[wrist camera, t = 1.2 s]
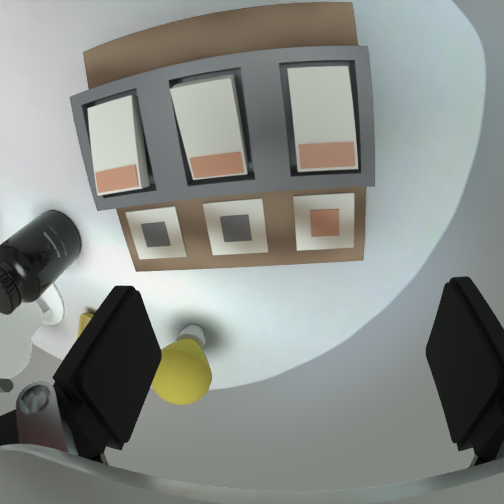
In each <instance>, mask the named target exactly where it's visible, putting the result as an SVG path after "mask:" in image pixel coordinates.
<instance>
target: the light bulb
mask: <svg viewBox="0 0 504 504" xmlns="http://www.w3.org/2000/svg"><path fill="white" fill-rule="evenodd" d="M205 342H206V340H205V337H204V331H203V329H202V328H201V327H199V326H198V325H194V324H191V325H188V326H186V327H185V329H183V330H181V332H180V333H179V335H178V338H177V342H174V343H172V344H170V345H168V346H167V347H165V348H164V349H162V350H161V353H162V358H161V362H160V364H159V367H158V369H157V372H156V374H155V377H154V379H153V382H152V384H151V385H152V387H153V389H154V391H155V392H156V393H157V394H158V395H159V396H160V397H161V398H162V399H164V400H166V401H167V402H169V403H173V404H178V405H186V404H190V403H194V402H196V401H197V400H199V399H200V398H201V397H203V396H204V395H205V394H206V392H207V391H208V389H209V386H210V384H211V381H212V373H211V369H210V366H209V363H208V361H207V358H206V356H205V354H204V352H203V351H202V350H203V349H204V345H205Z"/></svg>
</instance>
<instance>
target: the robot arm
mask: <svg viewBox="0 0 504 504" xmlns="http://www.w3.org/2000/svg"><path fill="white" fill-rule="evenodd" d="M426 357H427V360H428V363H429V366H430V369H431V372H432V375H433V378H434V381H435V384H436V387H437V391H438V394H439V397H440V400H441V404H442V407H443V410H444V414H445V417H446V421H447V424H448V428H449V431H450V435H451V439H452V441H453V443H457V446H458V450H459V451H462V450H466V449H469V448H473V449H474V452H475V456H474V458H473V460H472V462H471V464H470V466H469V468H466V469H463V470H459V471H455V472H451V473H447V474H442V475H438V476H434V477H429V478H424V479H419V480H414V481H409V482H403V483H397V484H390V485H383V486H375V487H367V488H357V489H344V490H328V491H262V490H245V489H233V488H223V487H214V486H206V485H199V484H192V483H186V482H180V481H174V480H169V479H164V478H159V477H154V476H149V475H145V474H141V473H137V472H132V471H128V470H125V469H121V468H117V467H113V466H110V465H109V464H108V462H107V459H106V456H105V454H104V450H105V447H106V446H107V447H111V448H114V449H118V450H122V447H123V445H124V443H127V442H128V441H129V439H130V437H131V435H132V432H133V429H134V427H135V424H136V421H137V419H138V417H139V414H140V411H141V409H142V406H143V404H144V401H145V399H146V396H147V394H148V391H149V389H150V386H151V384H152V382H153V379H154V377H155V374H156V372H157V369H158V367H159V364H160V362H161V358H162V353H161V349H160V347H159V344H158V341H157V339H156V336H155V333H154V331H153V328H152V325H151V323H150V320H149V317H148V314H147V311H146V309H145V306H144V303H143V300H142V297H141V294H140V292H139V291H137V290H135V288H134V287H133V286H115V287H114V288H113V289H112V291H111V292H110V293H109V295H108V296H107V297H106V299H105V300H104V302H103V303H102V304H101V306H100V307H99V309H98V310H97V311H96V313H95V314H94V316H93V317H92V318H91V320H90V321H89V323H88V324H87V326H86V327H85V329H84V330H83V331H82V333H81V334H80V336H79V337H78V339H77V340H76V342H75V343H74V345H73V346H72V348H71V349H70V351H69V352H68V354H67V355H66V357H65V359H64V360H63V362H62V363H61V365H60V366H59V368H58V369H57V371H56V373H55V374H54V376H53V379H54V380H55V383H54V385H53V386H52V385H51V384H50V383H48V382H46V381H37V382H33V383H31V384H29V385H28V386H26V387H25V388H24V389H23V390H22V391H21V392H20V394H19V395H18V398H17V400H16V409H15V410H13V411H11V412H9V413H6V414H4V415H2V416H0V504H504V329H503V327H502V326H501V324H500V322H499V321H498V319H497V318H496V316H495V314H494V313H493V311H492V310H491V308H490V307H489V305H488V303H487V302H486V300H485V299H484V297H483V296H482V294H481V293H480V291H479V290H478V289H477V287H476V286H475V284H474V283H473V281H472V280H471V279H470V278H469V277H453V278H451V279H450V281H449V283H446V284H445V286H444V289H443V294H442V297H441V301H440V304H439V308H438V311H437V315H436V318H435V321H434V325H433V328H432V331H431V334H430V337H429V340H428V343H427V346H426Z"/></svg>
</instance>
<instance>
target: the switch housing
mask: <svg viewBox="0 0 504 504" xmlns="http://www.w3.org/2000/svg"><path fill="white" fill-rule="evenodd" d="M324 66H348V70H349V77H350V85H351V93H352V102H353V111H354V121H355V131H356V143H357V157H358V169H347V170H325V171H306V172H298V171H297V159H296V148H295V137H294V127H293V117H292V107H291V98H290V89H289V81H288V72H287V68H302V67H324ZM232 74H234V80H235V86H236V91H237V97H238V103H239V109H240V115H241V121H242V126H243V132H244V138H245V144H246V150H247V156H248V162H249V168H248V174H245V175H234V176H224V177H215V178H206V179H198V180H193V178H192V174H191V171H190V167H189V163H188V159H187V156H186V152H185V148H184V144H183V140H182V136H181V132H180V128H179V125H178V121H177V117H176V113H175V109H174V105H173V100H172V96H171V92H170V89H171V88H172V87H173V86H174V85H176V84H180V83H185V82H190V81H195V80H201V79H206V78H212V77H218V76H225V75H232ZM130 95H133V96H137V97H138V101H139V106H140V112H141V117H142V127H143V137H144V146H145V154H146V163H147V171H148V178H149V185H150V186H149V187H145V188H142V189H136V190H129V191H123V192H117V193H111V194H105V195H99V196H98V195H97V189H96V182H95V175H94V168H93V160H92V152H91V142H90V132H89V121H88V108H90V107H93V106H96V105H99V104H103V103H106V102H109V101H112V100H116V99H119V98H123V97H126V96H130ZM70 101H71V106H72V112H73V117H74V122H75V126H76V131H77V136H78V140H79V144H80V149H81V153H82V157H83V161H84V165H85V169H86V173H87V176H88V180H89V184H90V187H91V191H92V195H93V198H94V201H95V205H96V208H97V211H100V210H107V209H114V208H121V207H129V206H136V205H144V204H152V203H160V202H169V201H177V200H186V199H196V198H205V197H216V196H226V195H237V194H249V193H261V192H275V191H289V190H305V189H322V188H343V187H368V186H375V145H374V116H373V98H372V84H371V72H370V61H369V52H368V46H313V47H294V48H281V49H270V50H260V51H251V52H244V53H236V54H229V55H223V56H217V57H211V58H206V59H200V60H195V61H190V62H185V63H181V64H176V65H172V66H168V67H163V68H159V69H155V70H151V71H148V72H144V73H140V74H137V75H133V76H130V77H126V78H123V79H120V80H116V81H113V82H110V83H107V84H104V85H101V86H98V87H95V88H92V89H89V90H87V91H84V92H81V93H78V94H76V95H73V96H71V97H70Z"/></svg>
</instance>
